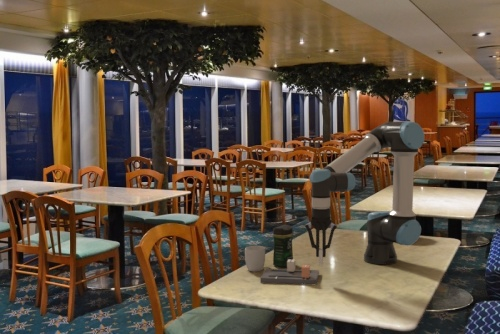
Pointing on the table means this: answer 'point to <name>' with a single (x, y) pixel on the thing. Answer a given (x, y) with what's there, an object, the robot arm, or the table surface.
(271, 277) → the board
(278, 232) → the coffee jar
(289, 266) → the block
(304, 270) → the fader near
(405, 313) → the table surface
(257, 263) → the mug
